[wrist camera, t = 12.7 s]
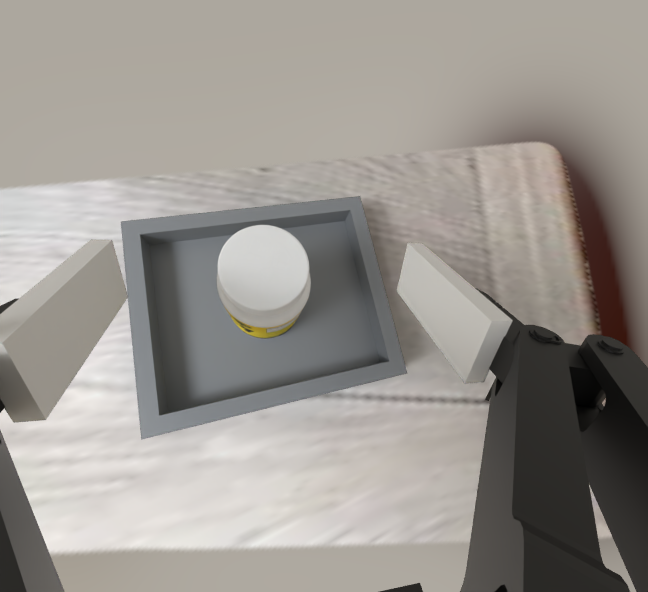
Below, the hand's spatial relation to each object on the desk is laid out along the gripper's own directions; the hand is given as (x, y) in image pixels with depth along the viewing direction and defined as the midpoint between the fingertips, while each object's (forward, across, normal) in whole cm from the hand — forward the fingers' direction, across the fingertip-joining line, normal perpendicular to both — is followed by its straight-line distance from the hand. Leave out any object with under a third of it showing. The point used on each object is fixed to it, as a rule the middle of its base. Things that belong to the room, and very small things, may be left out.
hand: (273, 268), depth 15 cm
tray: (+6, 0, -6) cm, 8 cm away
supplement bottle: (+5, 0, -6) cm, 8 cm away
